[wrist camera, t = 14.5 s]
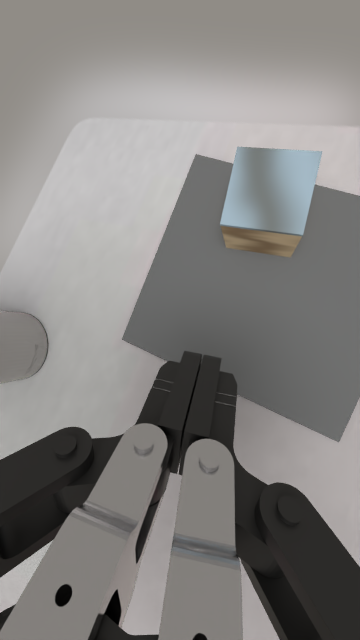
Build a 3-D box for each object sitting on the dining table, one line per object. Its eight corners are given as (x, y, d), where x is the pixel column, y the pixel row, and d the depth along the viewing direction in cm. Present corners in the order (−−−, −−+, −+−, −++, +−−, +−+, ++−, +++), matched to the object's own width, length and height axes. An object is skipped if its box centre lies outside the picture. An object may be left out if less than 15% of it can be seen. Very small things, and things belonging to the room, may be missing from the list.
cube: (237, 146, 24) (239, 187, 31) (219, 224, 24) (226, 247, 31) (322, 151, 22) (305, 193, 29) (303, 234, 22) (290, 257, 29)
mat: (123, 339, 34) (121, 339, 34) (196, 156, 33) (195, 154, 32) (337, 440, 28) (338, 442, 27) (439, 218, 26) (442, 217, 26)
